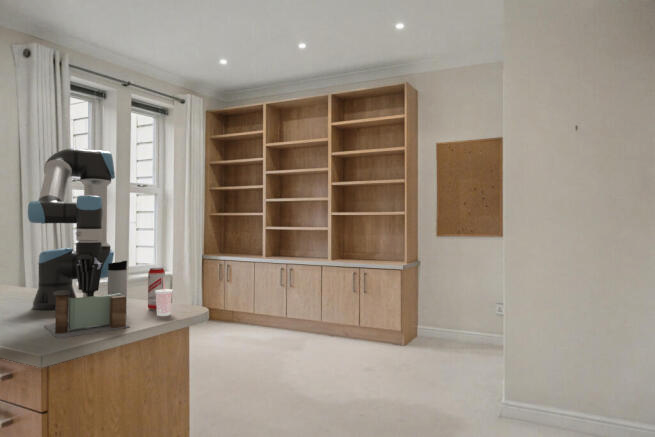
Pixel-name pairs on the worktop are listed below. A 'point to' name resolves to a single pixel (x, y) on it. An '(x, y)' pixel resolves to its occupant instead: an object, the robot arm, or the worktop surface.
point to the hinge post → (61, 311)
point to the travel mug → (117, 278)
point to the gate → (89, 311)
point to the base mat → (82, 330)
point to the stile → (117, 311)
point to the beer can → (154, 285)
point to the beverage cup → (163, 300)
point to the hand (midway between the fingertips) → (88, 311)
